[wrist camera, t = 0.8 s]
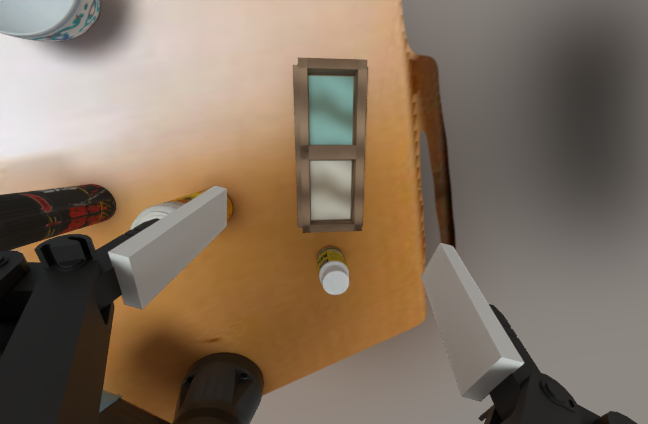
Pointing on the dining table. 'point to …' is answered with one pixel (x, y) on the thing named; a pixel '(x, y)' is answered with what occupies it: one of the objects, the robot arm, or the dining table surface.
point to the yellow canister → (171, 209)
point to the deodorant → (51, 213)
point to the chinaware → (47, 18)
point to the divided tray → (330, 142)
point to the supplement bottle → (333, 271)
